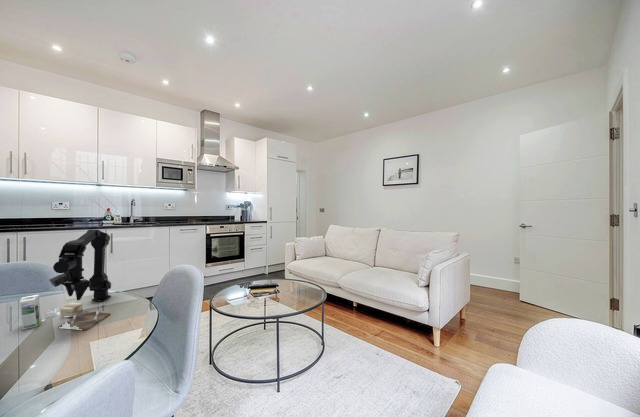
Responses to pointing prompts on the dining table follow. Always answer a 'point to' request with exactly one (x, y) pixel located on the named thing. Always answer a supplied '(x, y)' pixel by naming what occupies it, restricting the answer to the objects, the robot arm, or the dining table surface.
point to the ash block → (71, 309)
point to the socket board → (87, 319)
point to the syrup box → (30, 311)
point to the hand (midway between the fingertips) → (74, 298)
